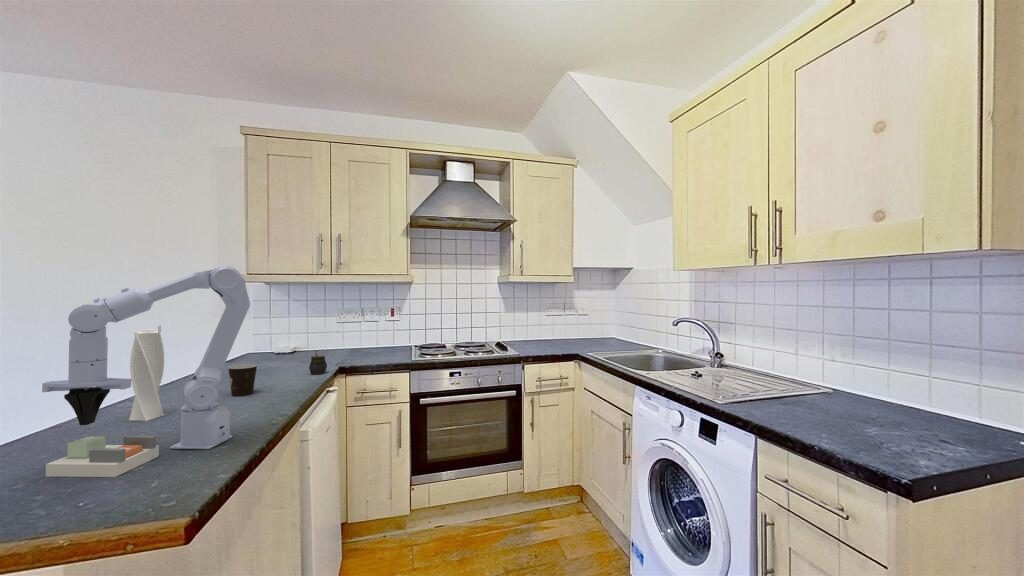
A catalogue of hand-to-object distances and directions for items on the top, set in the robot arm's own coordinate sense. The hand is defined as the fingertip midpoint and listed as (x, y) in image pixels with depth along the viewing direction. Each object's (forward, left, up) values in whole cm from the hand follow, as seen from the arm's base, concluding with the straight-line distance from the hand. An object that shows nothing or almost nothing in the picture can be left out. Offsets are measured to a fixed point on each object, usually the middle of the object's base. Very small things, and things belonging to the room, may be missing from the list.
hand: (87, 423), depth 86 cm
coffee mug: (+6, -58, -9) cm, 59 cm away
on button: (0, 0, -7) cm, 7 cm away
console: (-4, 0, -9) cm, 10 cm away
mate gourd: (-3, -96, -9) cm, 96 cm away
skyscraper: (+16, -32, -10) cm, 37 cm away
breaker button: (-8, 0, -9) cm, 12 cm away
